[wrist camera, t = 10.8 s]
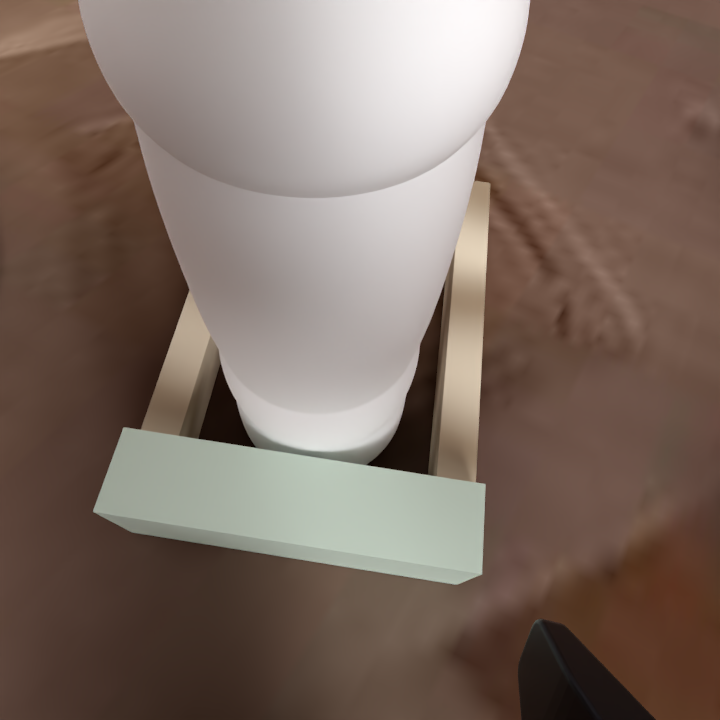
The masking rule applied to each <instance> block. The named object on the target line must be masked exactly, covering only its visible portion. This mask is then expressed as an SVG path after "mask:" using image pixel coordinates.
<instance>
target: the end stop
mask: <svg viewBox="0 0 720 720" xmlns="http://www.w3.org/2000/svg"><path fill="white" fill-rule="evenodd" d="M485 485H486V484H482V483H475V482H469V481H463V480H456V479H450V478H443V477H437V476H431V475H424V474H418V473H412V472H405V471H399V470H393V469H386V468H380V467H373V466H367V465H361V464H354V463H348V462H342V461H335V460H329V459H323V458H316V457H310V456H304V455H297V454H291V453H284V452H278V451H272V450H265V449H259V448H253V447H246V446H240V445H234V444H227V443H221V442H214V441H208V440H202V439H195V438H189V437H183V436H176V435H170V434H164V433H157V432H151V431H145V430H138V429H132V428H125V427H124V428H123V431H122V433H121V436H120V439H119V441H118V444H117V447H116V450H115V452H114V455H113V458H112V461H111V463H110V466H109V469H108V472H107V474H106V477H105V480H104V483H103V485H102V488H101V491H100V494H99V496H98V499H97V502H96V504H95V507H94V510H93V512H94V513H96V514H98V515H100V516H102V517H104V518H105V519H107V520H109V521H111V522H113V523H115V524H117V525H119V526H121V527H122V528H124V529H126V530H128V531H130V532H132V533H139V534H145V535H151V536H157V537H163V538H170V539H176V540H182V541H188V542H194V543H201V544H207V545H213V546H219V547H225V548H232V549H238V550H244V551H250V552H257V553H263V554H269V555H275V556H281V557H288V558H294V559H300V560H306V561H312V562H319V563H325V564H331V565H337V566H343V567H350V568H356V569H362V570H368V571H374V572H381V573H387V574H393V575H399V576H405V577H412V578H418V579H424V580H430V581H436V582H443V583H449V584H455V585H457V584H459V583H462V582H464V581H467V580H469V579H472V578H474V577H477V576H479V575H481V574H482V560H483V535H484V510H485Z"/></svg>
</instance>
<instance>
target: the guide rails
mask: <svg viewBox="0 0 720 720" xmlns="http://www.w3.org/2000/svg"><path fill="white" fill-rule="evenodd" d="M489 200H490V183H486V182H479V181H474V182H473V186H472V190H471V194H470V198H469V202H468V206H467V210H466V214H465V217H464V221H463V224H462V228H461V231H460V235H459V238H458V241H457V245H456V248H455V251H454V254H453V257H452V260H451V264H450V267H449V270H448V273H447V276H446V279H445V289H444V300H443V311H442V322H441V334H440V345H439V356H438V367H437V378H436V389H435V400H434V412H433V423H432V434H431V445H430V456H429V467H428V475H431V476H437V477H443V478H450V479H456V480H463V481H469V482H475V483H476V469H477V449H478V428H479V407H480V387H481V366H482V345H483V324H484V304H485V283H486V262H487V242H488V221H489ZM220 363H221V361H220V356H219V349H218V348H217V346H216V344H215V342H214V341H213V339H212V337H211V335H210V333H209V331H208V329H207V327H206V325H205V323H204V321H203V319H202V316H201V314H200V312H199V310H198V308H197V305H196V303H195V301H194V299H193V296H192V294H191V291H190V290H189V293H188V296H187V298H186V301H185V304H184V307H183V310H182V313H181V316H180V319H179V321H178V324H177V327H176V330H175V333H174V336H173V339H172V341H171V344H170V347H169V350H168V353H167V356H166V359H165V361H164V364H163V367H162V370H161V373H160V376H159V379H158V382H157V384H156V387H155V390H154V393H153V396H152V399H151V402H150V404H149V407H148V410H147V413H146V416H145V419H144V422H143V425H142V427H141V430H145V431H151V432H157V433H164V434H170V435H176V436H183V437H189V438H195V439H198V438H199V434H200V431H201V427H202V424H203V421H204V417H205V414H206V410H207V407H208V404H209V400H210V397H211V394H212V390H213V387H214V383H215V380H216V377H217V373H218V370H219V366H220Z"/></svg>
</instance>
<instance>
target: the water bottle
mask: <svg viewBox="0 0 720 720" xmlns="http://www.w3.org/2000/svg"><path fill="white" fill-rule="evenodd" d="M78 2H79V8H80V13H81V17H82V21H83V25H84V28H85V32H86V35H87V38H88V41H89V44H90V46H91V49H92V51H93V54H94V56H95V59H96V61H97V63H98V66H99V68H100V70H101V72H102V74H103V76H104V78H105V80H106V82H107V84H108V85H109V87H110V89H111V90H112V92H113V94H114V95H115V97H116V99H117V100H118V102H119V103H120V104H121V106H122V107H123V108H124V110H125V111H126V112H127V114H128V115H129V116H130V117H131V119H132V120H133V121H134V124H135V128H136V132H137V136H138V140H139V144H140V148H141V152H142V155H143V159H144V162H145V165H146V169H147V172H148V176H149V179H150V183H151V186H152V189H153V192H154V195H155V198H156V201H157V204H158V207H159V210H160V213H161V216H162V219H163V222H164V224H165V227H166V230H167V233H168V235H169V238H170V241H171V244H172V246H173V249H174V251H175V254H176V257H177V259H178V262H179V264H180V267H181V269H182V272H183V275H184V277H185V279H186V282H187V284H188V287H189V289H190V291H191V294H192V296H193V299H194V301H195V303H196V305H197V308H198V310H199V312H200V314H201V316H202V319H203V321H204V323H205V325H206V327H207V329H208V331H209V333H210V335H211V337H212V339H213V341H214V342H215V344H216V346H217V348H218V349H219V356H220V361H221V365H222V369H223V372H224V375H225V378H226V381H227V384H228V386H229V388H230V390H231V392H232V394H233V396H234V398H235V400H236V401H237V406H238V410H239V413H240V417H241V420H242V422H243V425H244V427H245V430H246V432H247V434H248V436H249V438H250V439H251V441H252V442H253V444H254V445H255V446H256V448H259V449H265V450H272V451H278V452H284V453H291V454H297V455H304V456H310V457H316V458H323V459H329V460H335V461H342V462H348V463H354V464H361V465H367V464H368V463H369V462H371V461H372V460H373V459H375V458H376V457H377V456H378V455H379V454H380V453H381V452H382V451H383V450H384V449H385V448H386V446H387V445H388V444H389V442H390V441H391V439H392V438H393V436H394V434H395V432H396V430H397V428H398V425H399V422H400V419H401V416H402V413H403V409H404V404H405V399H406V394H407V392H408V390H409V388H410V386H411V383H412V380H413V378H414V374H415V371H416V367H417V363H418V357H419V350H420V343H421V341H422V339H423V336H424V334H425V332H426V330H427V327H428V325H429V323H430V320H431V318H432V315H433V313H434V310H435V307H436V305H437V302H438V299H439V296H440V294H441V291H442V288H443V285H444V282H445V279H446V276H447V273H448V270H449V267H450V264H451V260H452V257H453V254H454V251H455V248H456V245H457V241H458V238H459V235H460V231H461V228H462V224H463V221H464V217H465V214H466V210H467V206H468V202H469V198H470V194H471V190H472V186H473V182H474V178H475V174H476V169H477V164H478V160H479V155H480V150H481V145H482V140H483V134H484V129H485V123H486V121H487V119H488V118H489V117H490V115H491V114H492V112H493V111H494V109H495V108H496V106H497V105H498V103H499V101H500V100H501V98H502V96H503V94H504V92H505V90H506V88H507V86H508V84H509V82H510V79H511V77H512V74H513V72H514V69H515V67H516V64H517V61H518V58H519V55H520V52H521V48H522V44H523V40H524V36H525V32H526V27H527V21H528V14H529V5H530V0H78Z"/></svg>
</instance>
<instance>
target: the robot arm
mask: <svg viewBox="0 0 720 720" xmlns="http://www.w3.org/2000/svg"><path fill="white" fill-rule="evenodd" d="M518 683H519V695H520V708H521V720H656V719H655V718H654V717H653V716H652V715H651V714H650V713H649V712H648V711H647V710H646V709H645V708H644V707H643V706H642V705H641V704H640V703H639V702H638V701H637V700H636V699H635V698H634V697H633V696H632V694H631V693H630V692H629V691H628V690H627V689H626V688H625V687H624V686H623V685H622V684H621V683H620V682H619V681H618V680H617V679H616V678H615V677H614V676H613V675H612V674H611V673H610V672H609V671H608V670H607V669H606V668H605V666H604V665H603V664H602V663H601V662H600V661H599V660H598V659H597V658H596V657H595V656H594V655H593V654H592V653H591V652H590V651H589V650H588V649H587V648H586V647H585V646H584V645H583V644H582V643H581V642H580V641H579V639H578V638H577V637H576V636H575V635H574V634H573V633H572V632H571V631H570V630H569V629H568V628H567V627H566V626H565V625H563V624H561V623H557V622H553V621H549V620H545V619H538V620H536V621H535V623H534V624H533V626H532V628H531V631H530V634H529V636H528V639H527V642H526V644H525V647H524V649H523V652H522V655H521V657H520V661H519V666H518Z"/></svg>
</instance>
